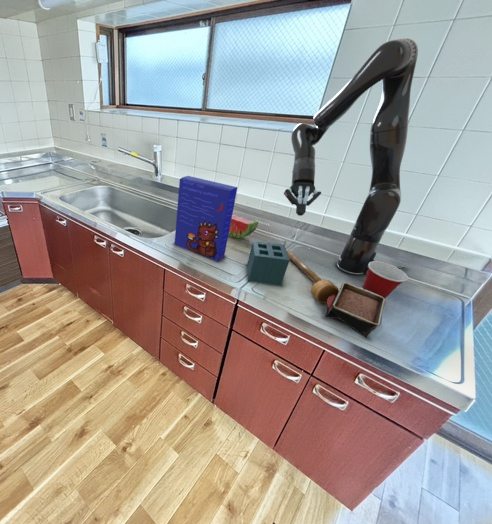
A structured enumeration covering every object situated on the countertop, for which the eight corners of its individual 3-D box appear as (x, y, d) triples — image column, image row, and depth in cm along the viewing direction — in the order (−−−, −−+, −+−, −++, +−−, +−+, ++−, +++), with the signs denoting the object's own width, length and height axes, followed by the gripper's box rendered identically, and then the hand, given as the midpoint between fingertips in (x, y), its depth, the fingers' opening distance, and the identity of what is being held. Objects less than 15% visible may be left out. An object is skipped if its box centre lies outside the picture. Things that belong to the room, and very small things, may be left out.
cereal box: (224, 256, 121) (237, 186, 105) (217, 261, 117) (230, 190, 101) (182, 239, 133) (188, 175, 117) (174, 244, 129) (179, 178, 113)
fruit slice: (202, 225, 147) (205, 207, 142) (210, 222, 150) (213, 204, 145) (246, 244, 130) (251, 224, 125) (254, 240, 133) (259, 221, 128)
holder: (276, 269, 113) (284, 244, 107) (281, 285, 104) (289, 260, 98) (246, 265, 115) (252, 240, 110) (248, 280, 106) (254, 255, 100)
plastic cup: (393, 313, 92) (412, 283, 85) (353, 301, 97) (368, 272, 90) (389, 295, 100) (407, 266, 93) (353, 285, 104) (367, 257, 98)
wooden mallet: (293, 245, 121) (344, 288, 93) (284, 259, 124) (331, 305, 96) (277, 241, 120) (325, 283, 91) (269, 255, 123) (312, 300, 95)
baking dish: (380, 323, 91) (393, 295, 87) (370, 346, 79) (385, 316, 75) (329, 304, 100) (339, 278, 96) (314, 323, 88) (324, 294, 84)
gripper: (288, 166, 107) (284, 209, 104) (326, 168, 105) (324, 212, 101) (282, 176, 114) (278, 216, 111) (318, 178, 112) (315, 220, 108)
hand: (300, 214), depth 106 cm, fingers closed
